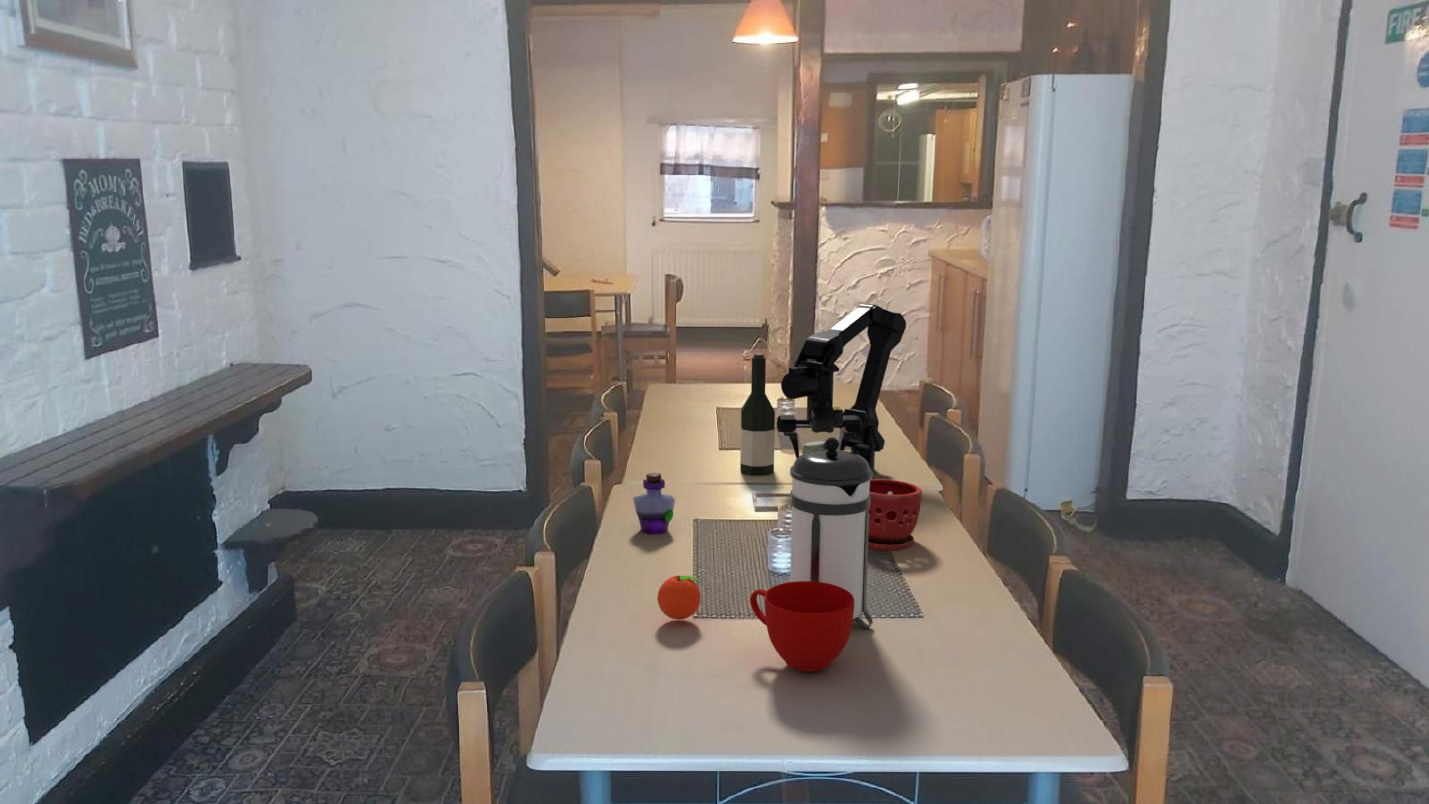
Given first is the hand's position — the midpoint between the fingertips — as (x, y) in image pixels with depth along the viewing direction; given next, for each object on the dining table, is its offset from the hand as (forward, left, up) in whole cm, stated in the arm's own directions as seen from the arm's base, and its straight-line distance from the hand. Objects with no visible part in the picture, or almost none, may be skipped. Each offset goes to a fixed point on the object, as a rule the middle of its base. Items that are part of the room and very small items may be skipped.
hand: (818, 461), depth 243 cm
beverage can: (0, 0, -8) cm, 8 cm away
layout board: (+12, +1, -8) cm, 14 cm away
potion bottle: (+28, -36, -8) cm, 46 cm away
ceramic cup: (+87, -13, -8) cm, 88 cm away
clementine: (+72, -30, -8) cm, 78 cm away
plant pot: (+36, +9, -8) cm, 38 cm away
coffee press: (+72, -8, -8) cm, 72 cm away
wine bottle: (-12, -13, -8) cm, 19 cm away
